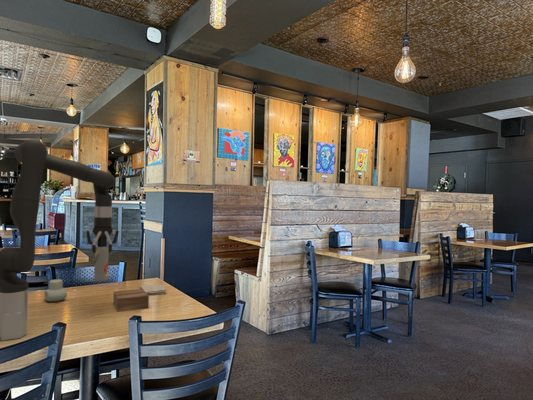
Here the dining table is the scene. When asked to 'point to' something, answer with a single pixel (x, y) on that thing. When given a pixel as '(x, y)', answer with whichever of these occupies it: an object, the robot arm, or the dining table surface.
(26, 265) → the robot arm
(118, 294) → the block
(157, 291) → the washcloth
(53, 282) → the air freshener
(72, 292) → the dining table surface
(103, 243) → the lotion bottle
